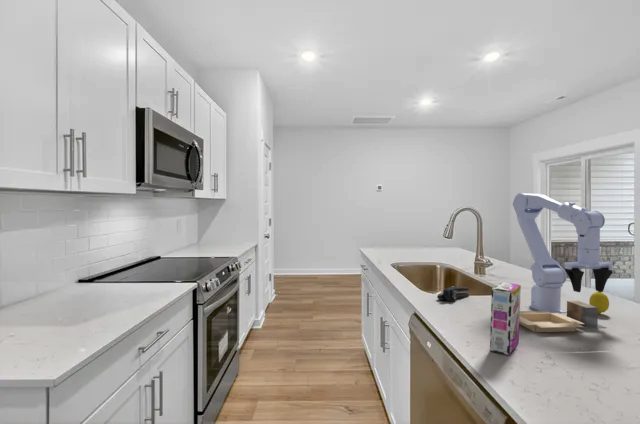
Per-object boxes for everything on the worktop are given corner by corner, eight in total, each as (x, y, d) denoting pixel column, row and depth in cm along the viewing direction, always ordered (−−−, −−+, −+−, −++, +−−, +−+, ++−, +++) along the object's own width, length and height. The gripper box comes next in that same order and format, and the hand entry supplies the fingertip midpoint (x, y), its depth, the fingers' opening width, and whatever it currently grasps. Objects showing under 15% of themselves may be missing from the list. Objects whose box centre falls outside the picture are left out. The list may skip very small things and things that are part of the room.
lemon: (600, 316, 126) (601, 293, 126) (585, 312, 131) (585, 289, 131) (612, 315, 127) (613, 292, 127) (597, 311, 133) (597, 289, 133)
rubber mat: (558, 319, 123) (558, 318, 123) (580, 318, 123) (580, 317, 123) (582, 329, 113) (582, 328, 113) (606, 328, 113) (606, 327, 113)
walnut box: (566, 319, 122) (567, 300, 122) (577, 318, 122) (577, 300, 122) (585, 327, 114) (586, 307, 114) (597, 326, 114) (597, 307, 114)
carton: (501, 319, 123) (501, 311, 122) (552, 318, 124) (552, 310, 124) (532, 336, 107) (533, 327, 107) (591, 334, 108) (591, 326, 108)
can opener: (450, 304, 141) (450, 289, 141) (435, 300, 147) (435, 286, 147) (476, 297, 152) (476, 284, 151) (461, 294, 157) (461, 281, 157)
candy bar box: (510, 356, 92) (511, 291, 92) (489, 351, 95) (490, 288, 95) (520, 343, 101) (521, 284, 100) (500, 339, 104) (501, 281, 104)
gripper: (576, 250, 114) (576, 294, 114) (620, 250, 115) (620, 293, 115) (560, 248, 121) (559, 289, 121) (602, 247, 122) (601, 289, 122)
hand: (588, 291), depth 118 cm, fingers open, 7 cm apart
